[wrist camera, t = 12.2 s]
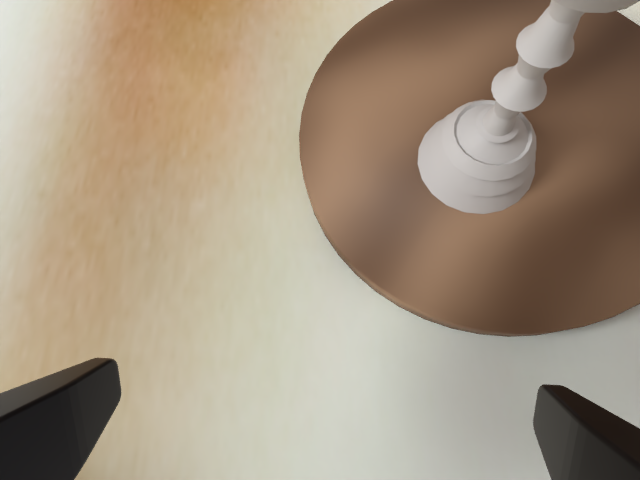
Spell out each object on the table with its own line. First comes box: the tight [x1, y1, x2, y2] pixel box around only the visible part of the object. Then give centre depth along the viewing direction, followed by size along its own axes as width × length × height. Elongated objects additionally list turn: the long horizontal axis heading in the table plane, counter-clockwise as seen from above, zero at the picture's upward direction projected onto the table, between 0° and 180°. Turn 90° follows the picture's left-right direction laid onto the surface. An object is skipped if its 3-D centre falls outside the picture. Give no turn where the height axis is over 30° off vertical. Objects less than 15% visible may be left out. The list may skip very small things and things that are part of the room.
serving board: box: [299, 0, 640, 337], centre depth 19 cm, size 18×18×2 cm
